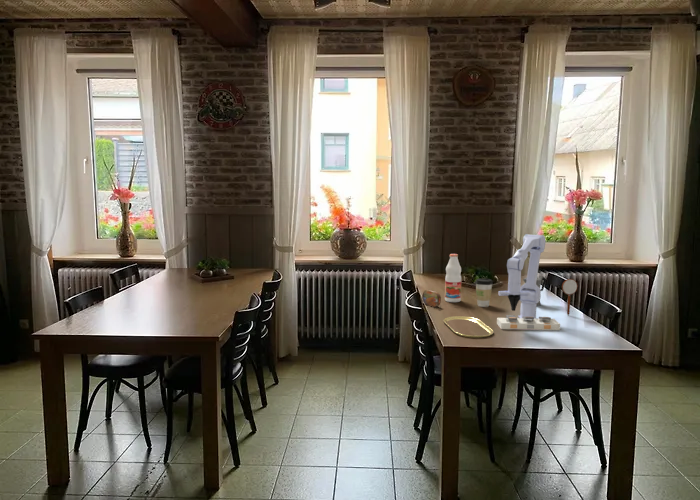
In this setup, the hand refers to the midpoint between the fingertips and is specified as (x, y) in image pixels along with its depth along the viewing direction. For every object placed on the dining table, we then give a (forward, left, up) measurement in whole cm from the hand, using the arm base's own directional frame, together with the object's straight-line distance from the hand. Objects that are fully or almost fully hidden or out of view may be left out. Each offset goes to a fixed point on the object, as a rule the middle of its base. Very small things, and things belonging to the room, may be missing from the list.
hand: (513, 310), depth 260 cm
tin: (-45, -36, -9) cm, 58 cm away
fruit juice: (-57, -22, -9) cm, 62 cm away
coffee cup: (-46, -6, -9) cm, 47 cm away
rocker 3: (-3, +16, -5) cm, 17 cm away
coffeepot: (-52, +24, -9) cm, 58 cm away
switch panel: (-3, +8, -9) cm, 12 cm away
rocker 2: (-3, +8, -5) cm, 10 cm away
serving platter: (+1, -22, -10) cm, 24 cm away
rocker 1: (-3, 0, -5) cm, 5 cm away
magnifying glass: (-26, +35, -9) cm, 44 cm away
